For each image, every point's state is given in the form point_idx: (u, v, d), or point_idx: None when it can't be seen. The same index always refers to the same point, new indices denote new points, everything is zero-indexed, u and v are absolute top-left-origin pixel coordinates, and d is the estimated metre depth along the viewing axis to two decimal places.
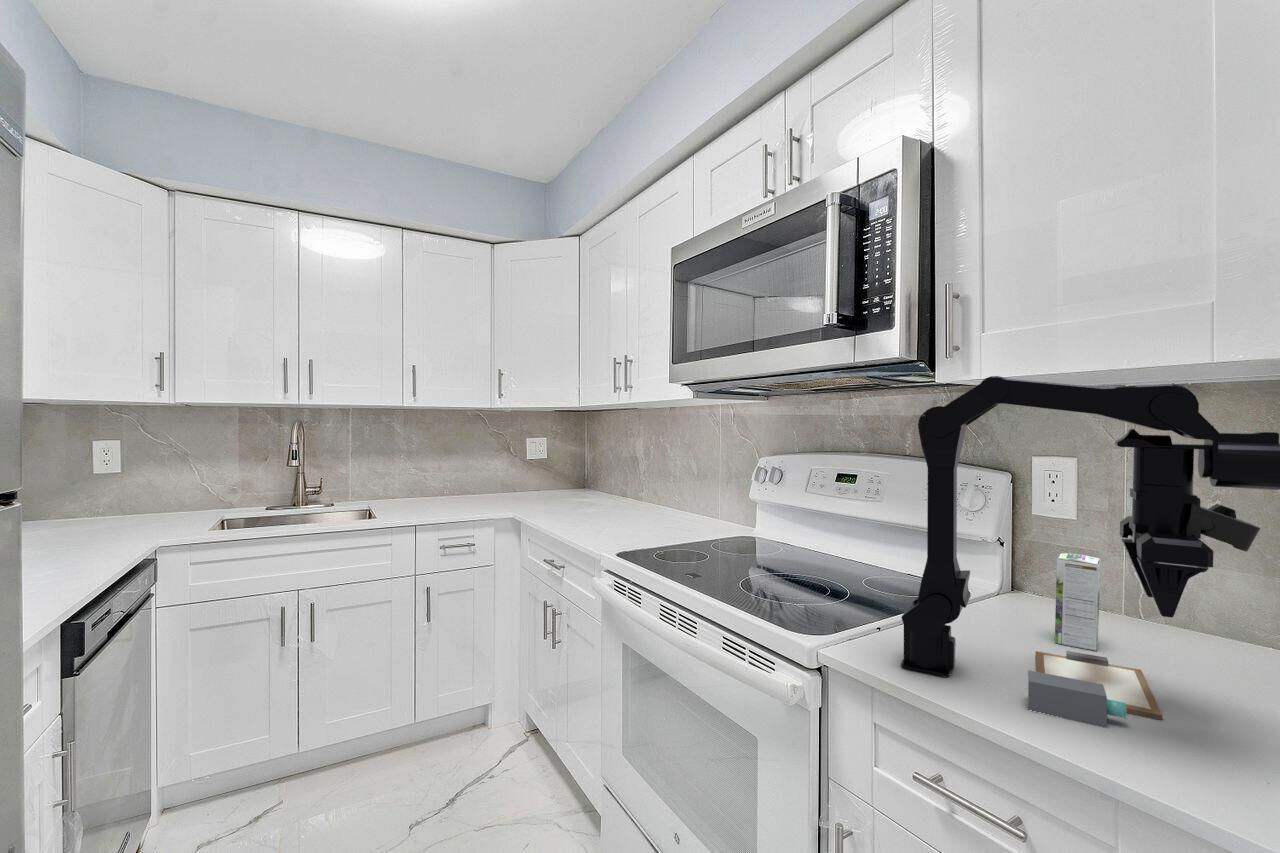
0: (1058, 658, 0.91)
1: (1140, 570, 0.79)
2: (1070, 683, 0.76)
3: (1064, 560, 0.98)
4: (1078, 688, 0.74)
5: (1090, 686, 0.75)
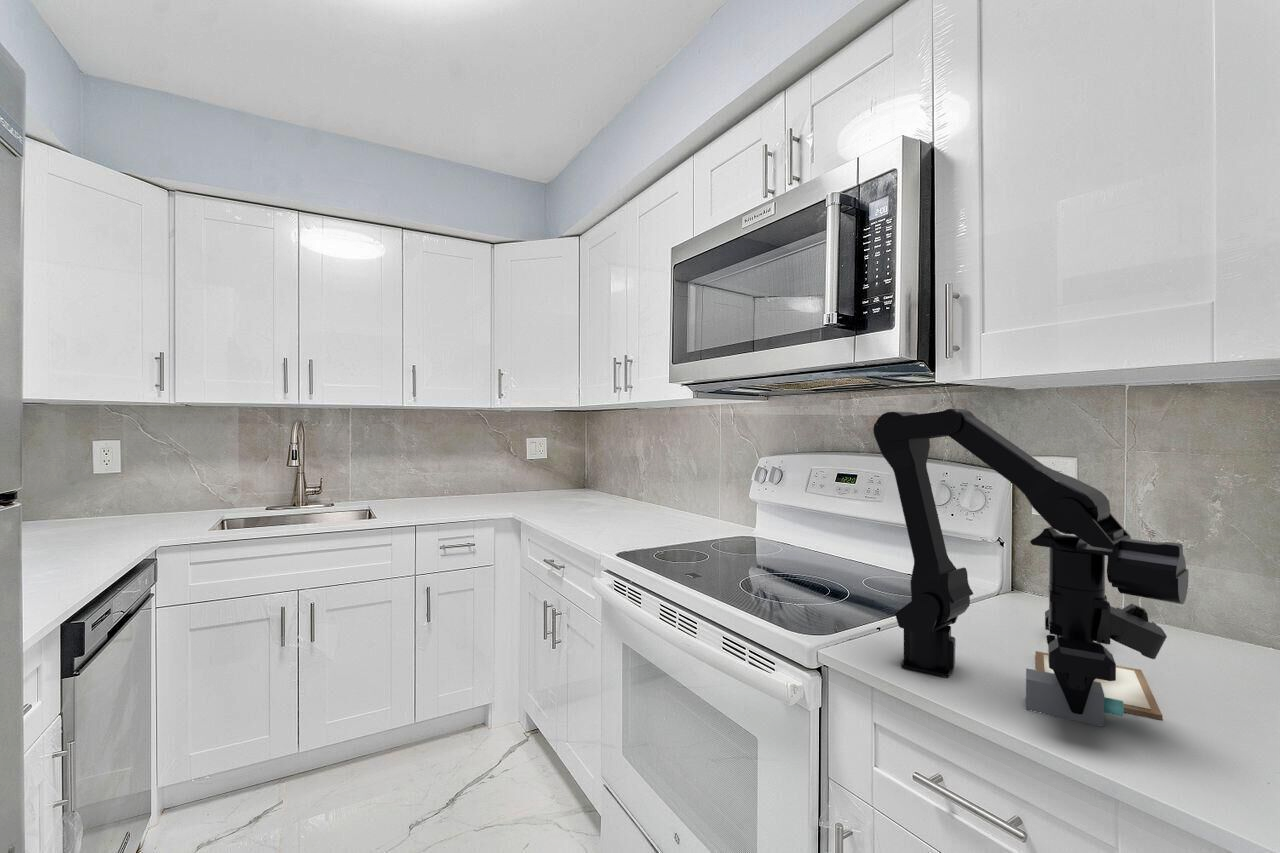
0: None
1: None
2: None
3: None
4: None
5: None
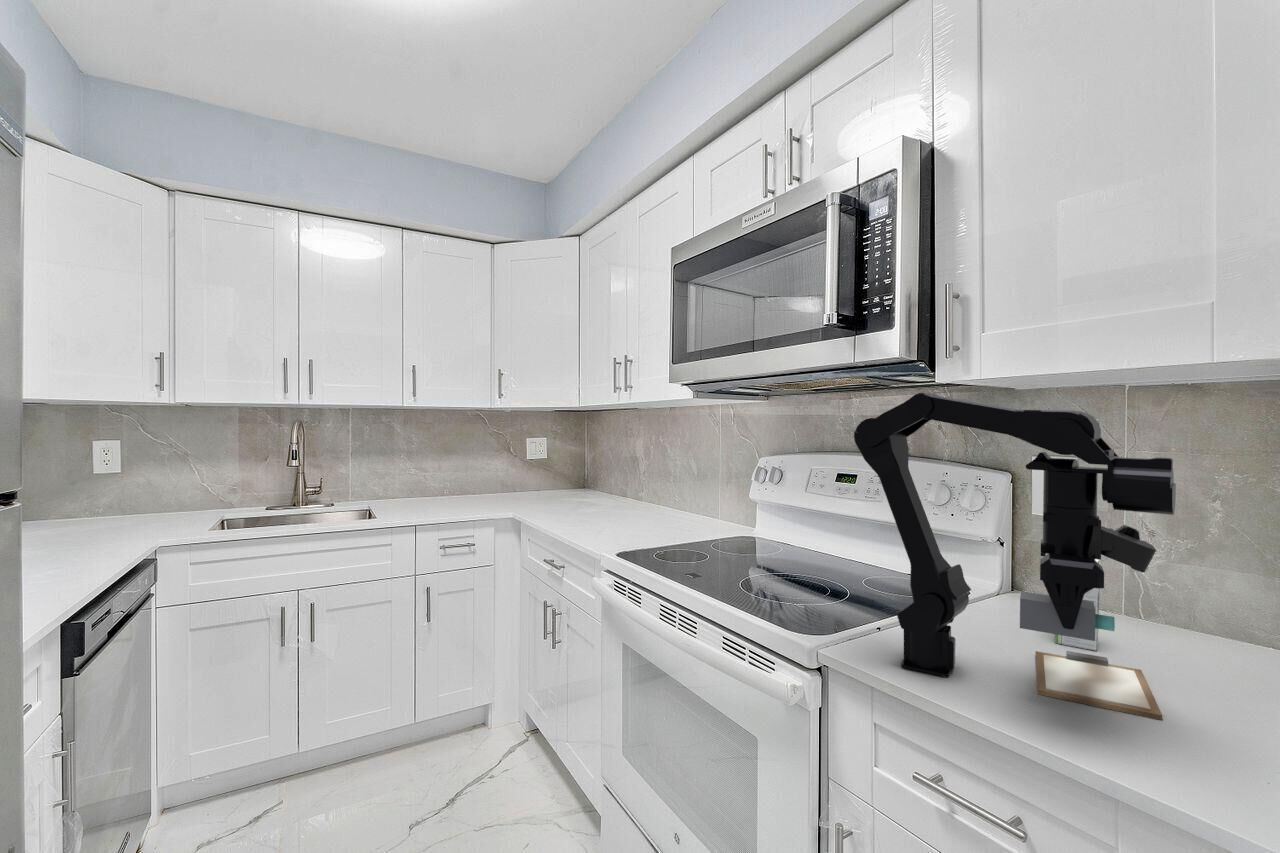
0: (1058, 658, 0.91)
1: None
2: None
3: None
4: None
5: None
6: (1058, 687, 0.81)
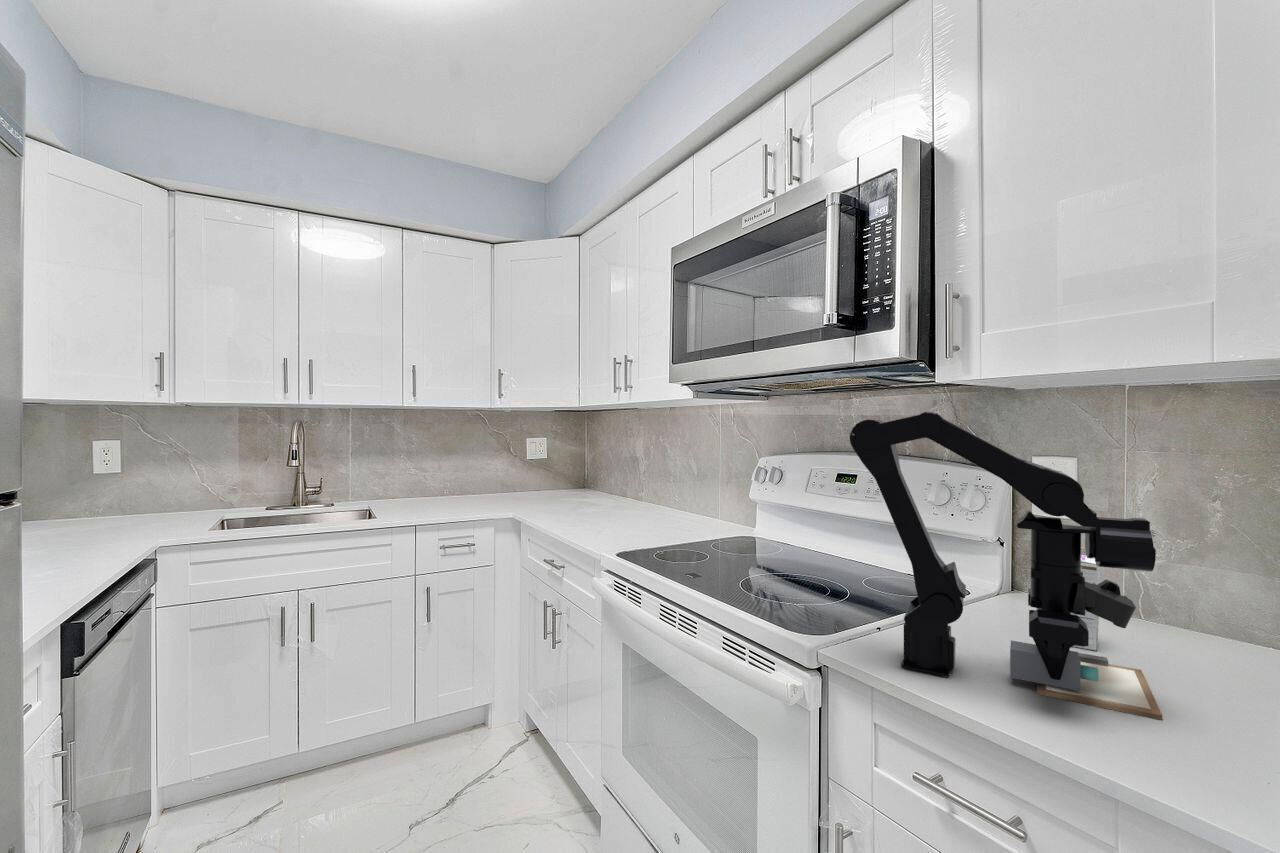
0: None
1: None
2: None
3: None
4: None
5: None
6: (1058, 687, 0.81)
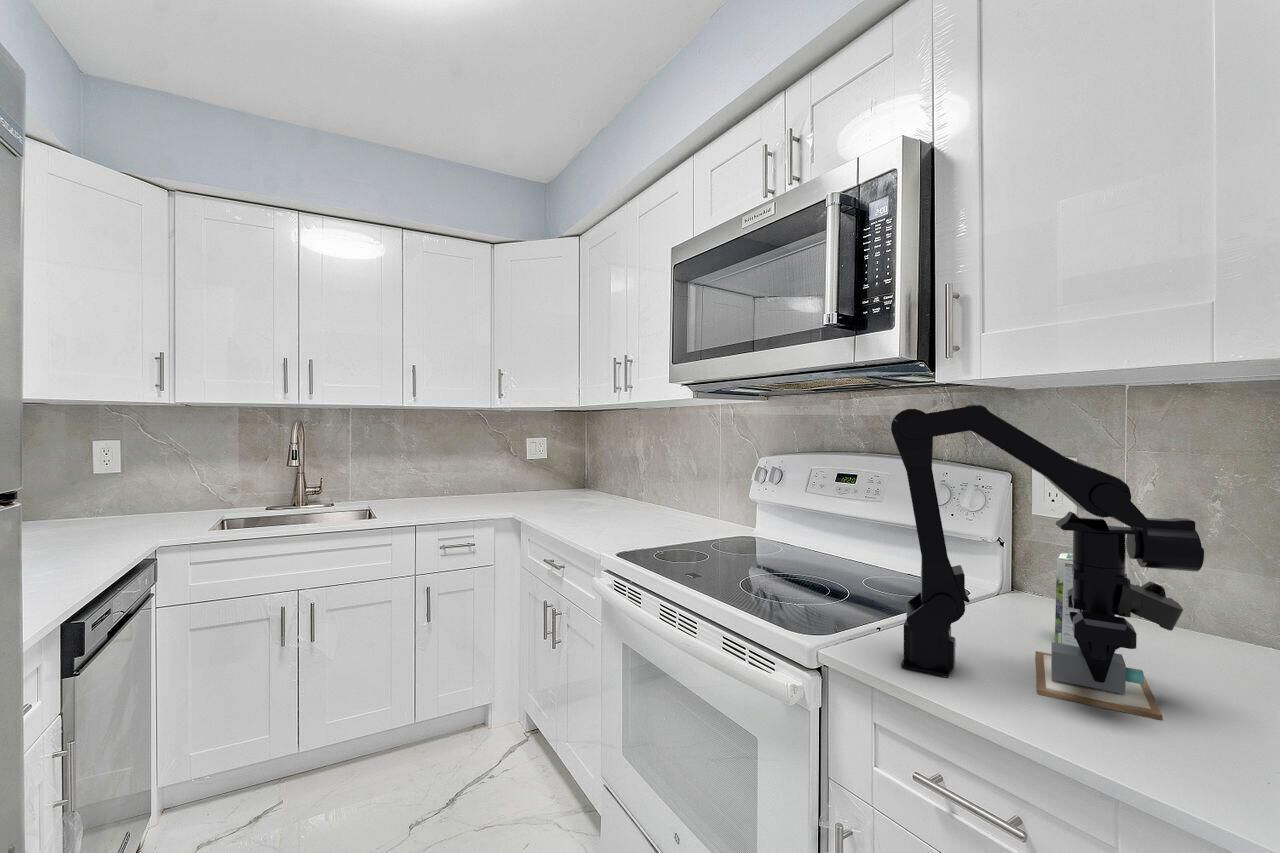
0: None
1: None
2: None
3: (1064, 560, 0.98)
4: None
5: None
6: (1058, 687, 0.81)
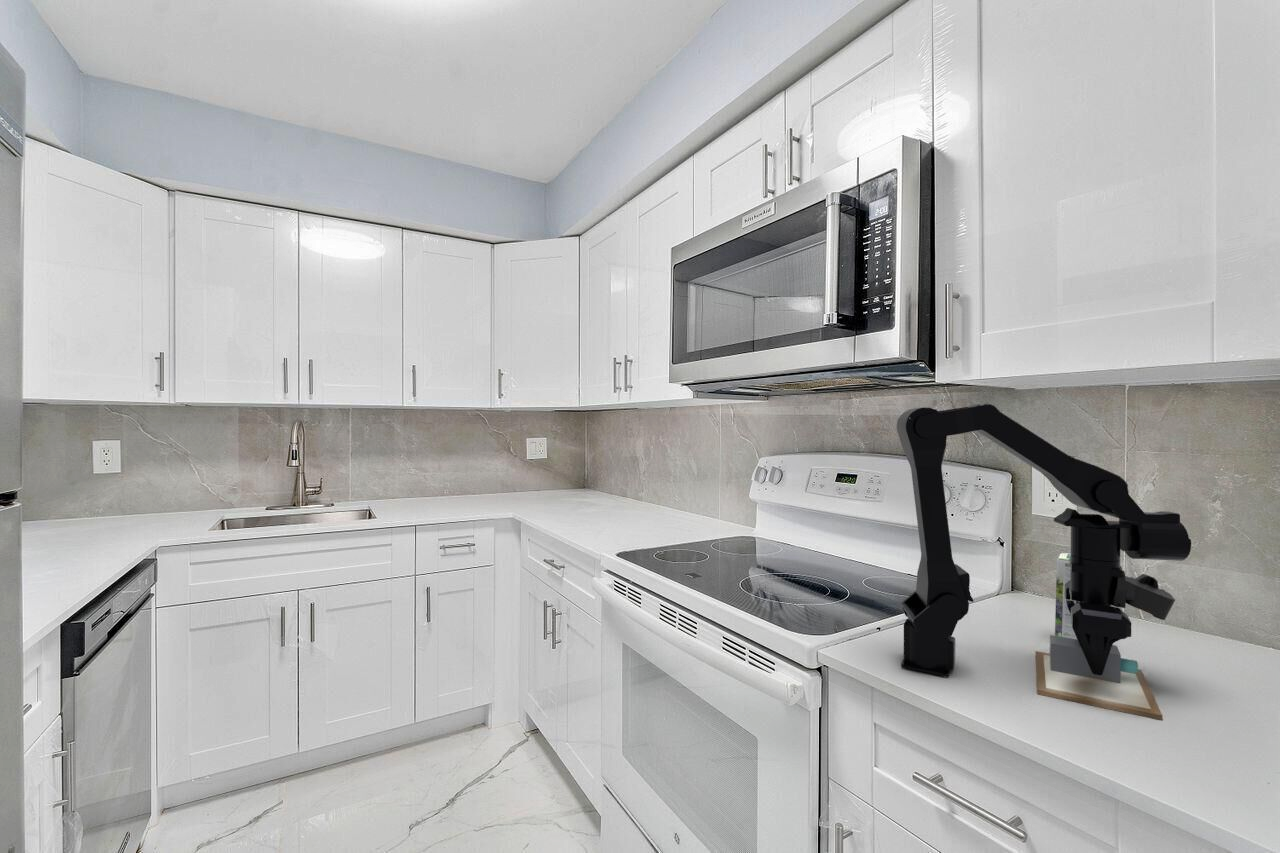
0: None
1: None
2: None
3: (1064, 560, 0.98)
4: None
5: None
6: (1058, 687, 0.81)
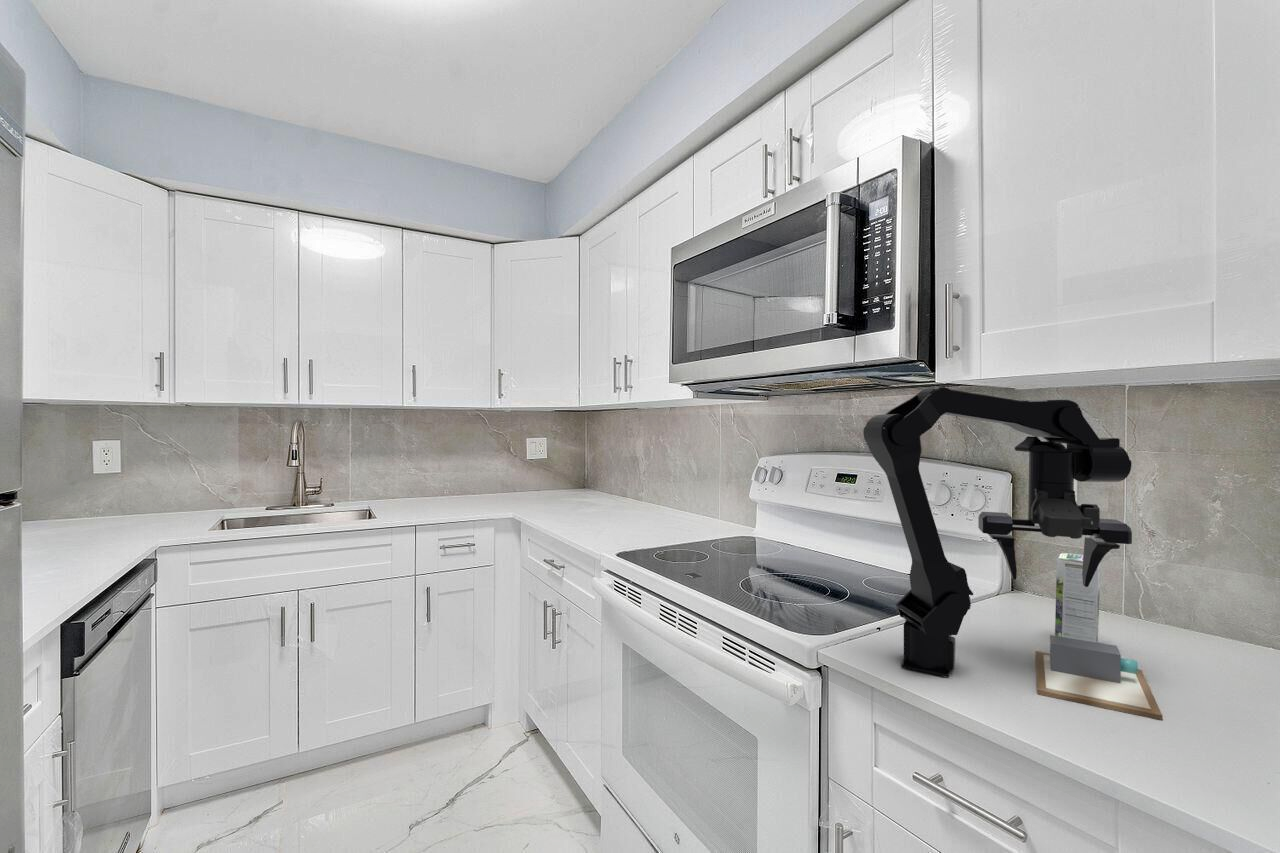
0: None
1: (1083, 562, 0.90)
2: (1088, 645, 0.86)
3: (1064, 560, 0.98)
4: (1095, 648, 0.84)
5: (1106, 647, 0.85)
6: (1058, 687, 0.81)
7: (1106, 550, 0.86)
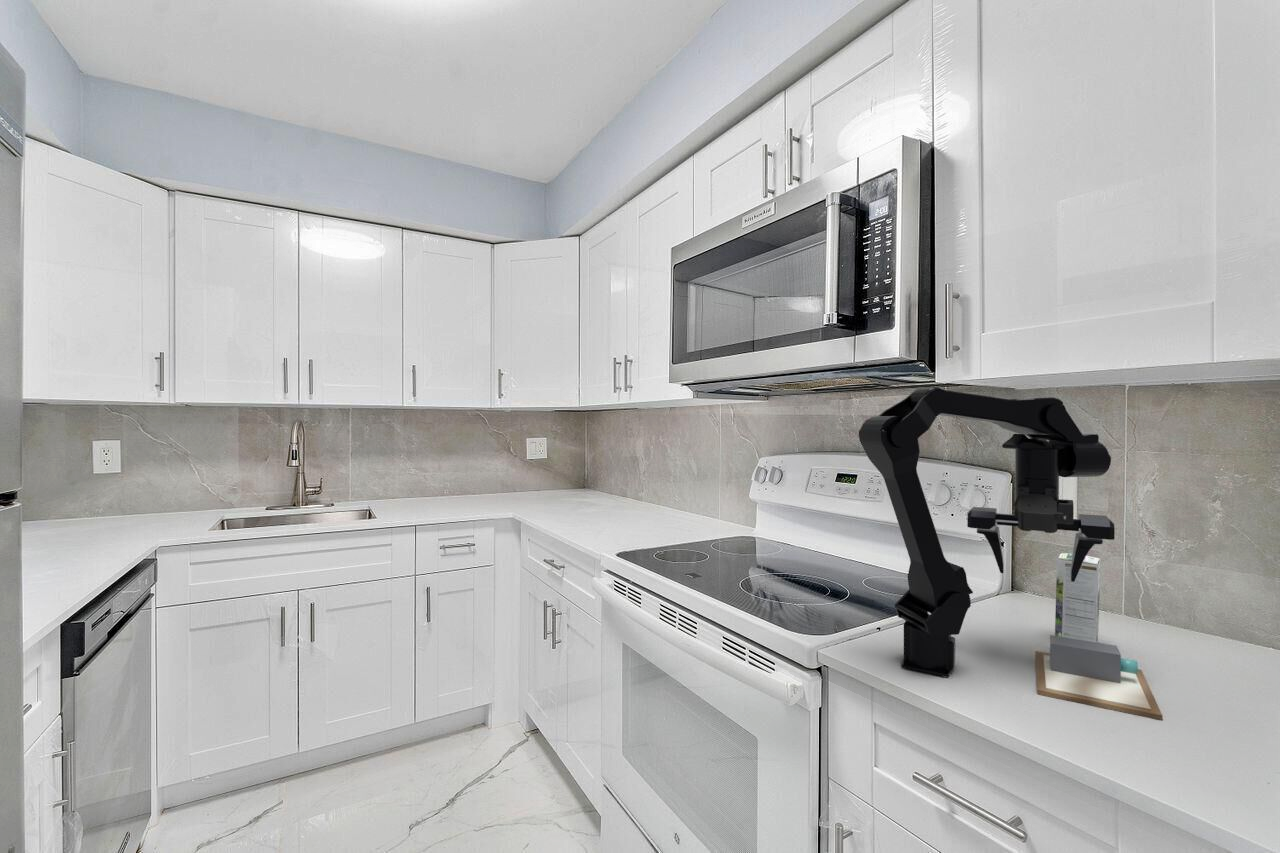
0: None
1: (1072, 557, 0.91)
2: (1088, 645, 0.86)
3: (1064, 560, 0.98)
4: (1095, 648, 0.84)
5: (1106, 647, 0.85)
6: (1058, 687, 0.81)
7: (1089, 545, 0.87)
